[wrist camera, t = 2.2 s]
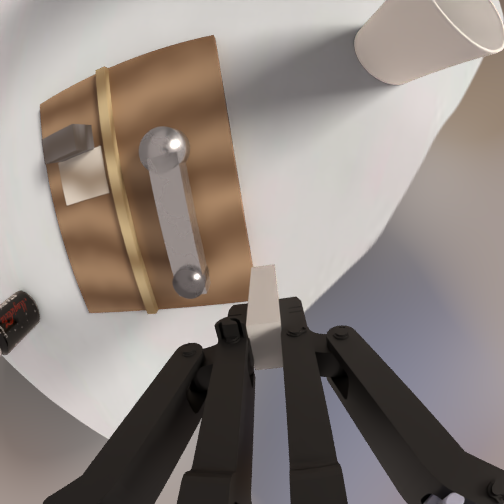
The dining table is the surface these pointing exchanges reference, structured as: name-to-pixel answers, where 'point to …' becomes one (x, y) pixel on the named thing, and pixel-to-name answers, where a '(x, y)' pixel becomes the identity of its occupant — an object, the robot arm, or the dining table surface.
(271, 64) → the dining table surface
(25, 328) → the beverage can
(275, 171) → the dining table surface
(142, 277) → the door board
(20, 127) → the dining table surface
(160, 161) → the bar
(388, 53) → the cup
